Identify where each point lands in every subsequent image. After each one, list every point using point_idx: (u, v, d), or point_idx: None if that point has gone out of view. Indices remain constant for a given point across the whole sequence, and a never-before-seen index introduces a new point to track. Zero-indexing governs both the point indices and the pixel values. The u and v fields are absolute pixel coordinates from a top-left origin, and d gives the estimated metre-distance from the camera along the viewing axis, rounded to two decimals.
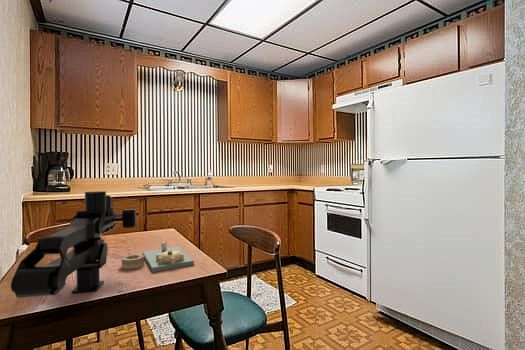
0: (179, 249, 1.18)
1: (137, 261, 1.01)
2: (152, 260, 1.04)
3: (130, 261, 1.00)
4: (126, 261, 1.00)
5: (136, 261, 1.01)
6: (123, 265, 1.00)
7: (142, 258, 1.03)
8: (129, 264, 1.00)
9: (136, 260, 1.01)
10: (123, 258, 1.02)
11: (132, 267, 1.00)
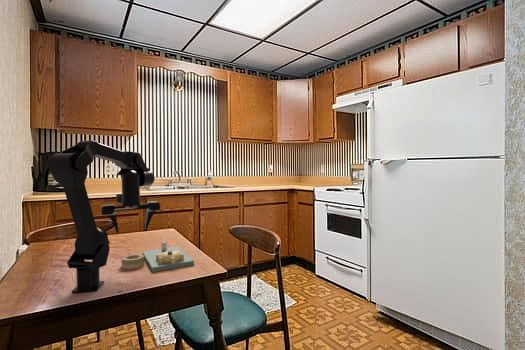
0: (179, 249, 1.18)
1: (137, 261, 1.01)
2: (152, 260, 1.04)
3: (130, 261, 1.00)
4: (126, 261, 1.00)
5: (136, 261, 1.01)
6: (123, 265, 1.00)
7: (142, 258, 1.03)
8: (129, 264, 1.00)
9: (136, 260, 1.01)
10: (123, 258, 1.02)
11: (132, 267, 1.00)
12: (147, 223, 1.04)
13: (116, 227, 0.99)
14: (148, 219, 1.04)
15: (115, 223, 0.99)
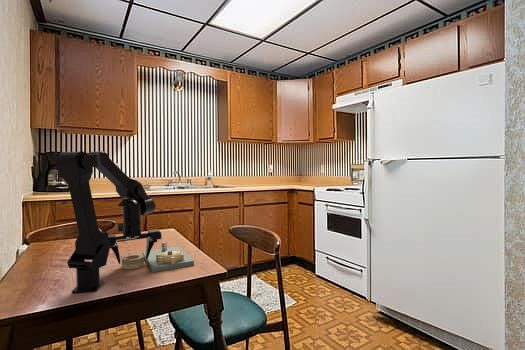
0: (179, 249, 1.18)
1: (137, 261, 1.01)
2: (152, 260, 1.04)
3: (130, 261, 1.00)
4: (126, 261, 1.00)
5: (136, 261, 1.01)
6: (123, 265, 1.00)
7: (142, 258, 1.03)
8: (129, 264, 1.00)
9: (136, 260, 1.01)
10: (123, 258, 1.02)
11: (132, 267, 1.00)
12: (148, 252, 1.05)
13: (118, 258, 1.00)
14: (149, 249, 1.04)
15: (117, 254, 0.99)
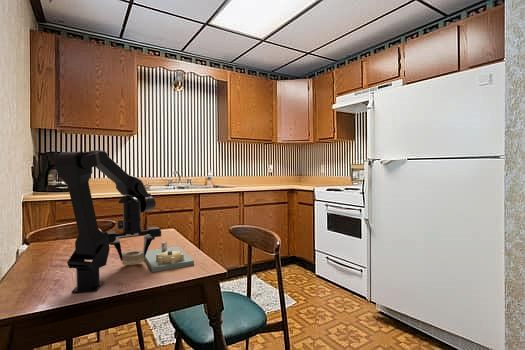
0: (179, 249, 1.18)
1: (137, 257, 1.01)
2: (152, 260, 1.04)
3: (130, 257, 1.00)
4: (126, 257, 1.00)
5: (136, 257, 1.01)
6: (123, 261, 1.00)
7: (142, 254, 1.03)
8: (129, 260, 1.00)
9: (136, 256, 1.01)
10: (123, 254, 1.02)
11: (132, 263, 1.00)
12: (145, 250, 1.04)
13: (120, 254, 1.00)
14: (146, 246, 1.04)
15: (119, 250, 0.99)
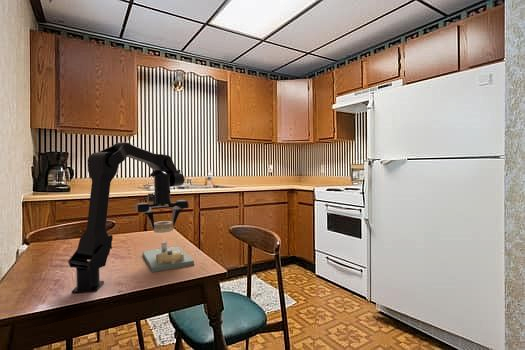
0: (179, 249, 1.18)
1: (168, 225, 1.11)
2: (152, 260, 1.04)
3: (162, 225, 1.09)
4: (158, 225, 1.10)
5: (167, 226, 1.10)
6: (155, 229, 1.10)
7: (172, 224, 1.13)
8: (161, 228, 1.09)
9: (167, 225, 1.10)
10: (155, 223, 1.12)
11: (163, 231, 1.10)
12: (174, 220, 1.14)
13: (152, 223, 1.10)
14: (175, 216, 1.13)
15: (152, 219, 1.09)
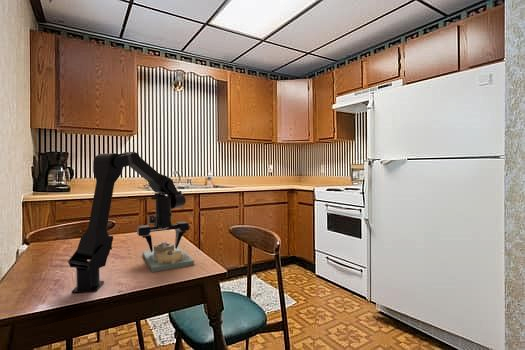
0: (179, 249, 1.18)
1: (168, 248, 1.11)
2: (152, 260, 1.04)
3: (162, 248, 1.10)
4: (159, 248, 1.10)
5: (168, 248, 1.11)
6: (156, 252, 1.10)
7: (172, 246, 1.13)
8: (161, 251, 1.10)
9: (167, 247, 1.11)
10: (155, 246, 1.12)
11: None
12: (177, 242, 1.14)
13: (151, 246, 1.10)
14: (178, 238, 1.14)
15: (150, 243, 1.09)
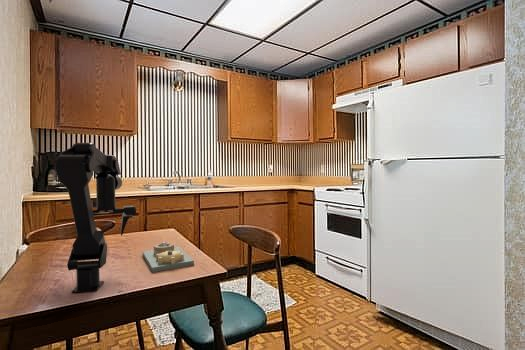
0: (179, 249, 1.18)
1: (168, 248, 1.11)
2: (152, 260, 1.04)
3: (162, 248, 1.10)
4: (159, 248, 1.10)
5: (168, 248, 1.11)
6: (156, 252, 1.10)
7: (172, 246, 1.13)
8: (161, 251, 1.10)
9: (167, 247, 1.11)
10: (155, 246, 1.12)
11: None
12: (122, 228, 1.02)
13: None
14: (123, 224, 1.02)
15: None
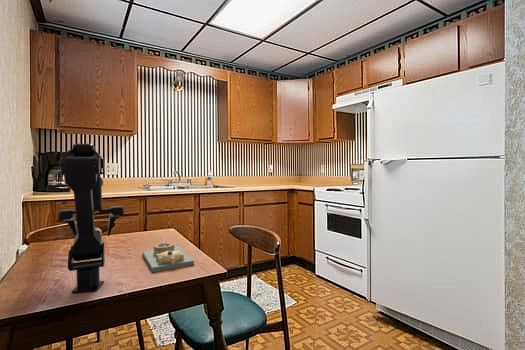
0: (179, 249, 1.18)
1: (168, 248, 1.11)
2: (152, 260, 1.04)
3: (162, 248, 1.10)
4: (159, 248, 1.10)
5: (168, 248, 1.11)
6: (156, 252, 1.10)
7: (172, 246, 1.13)
8: (161, 251, 1.10)
9: (167, 247, 1.11)
10: (155, 246, 1.12)
11: None
12: (109, 229, 1.00)
13: (75, 233, 0.95)
14: (110, 225, 1.00)
15: (74, 229, 0.94)
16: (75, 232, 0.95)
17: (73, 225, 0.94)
